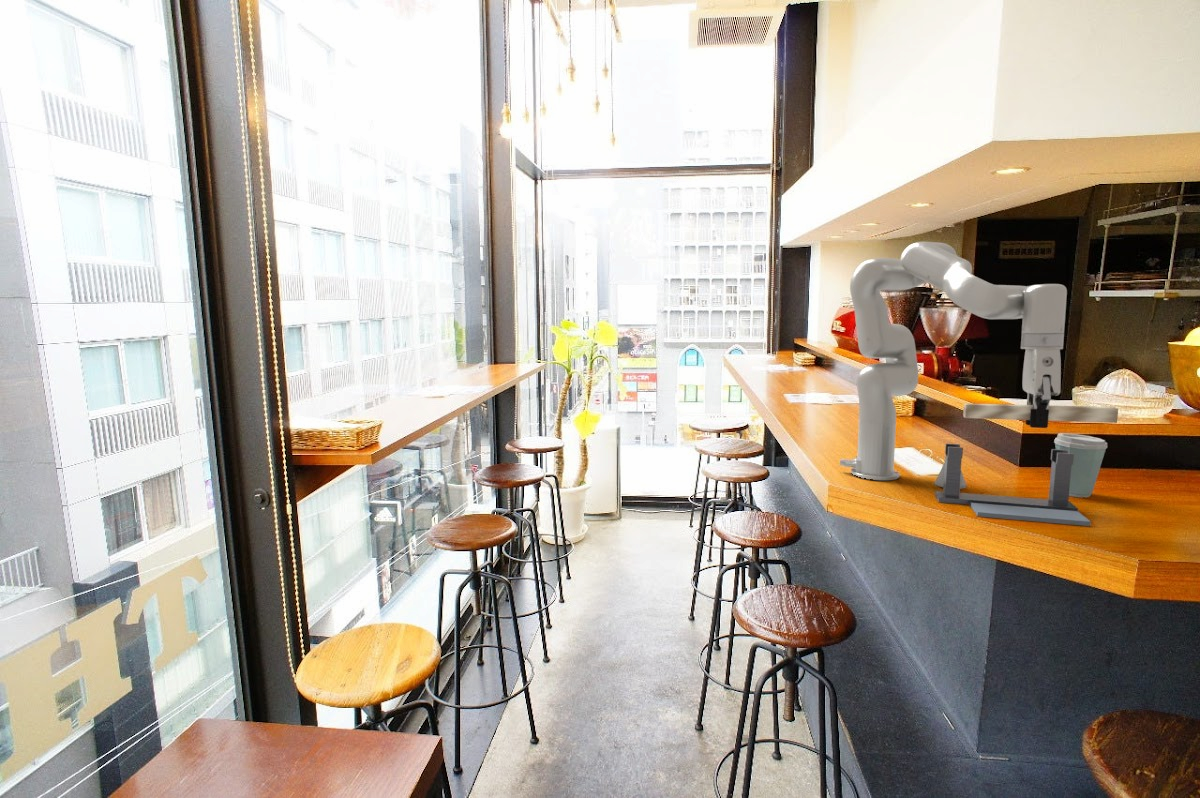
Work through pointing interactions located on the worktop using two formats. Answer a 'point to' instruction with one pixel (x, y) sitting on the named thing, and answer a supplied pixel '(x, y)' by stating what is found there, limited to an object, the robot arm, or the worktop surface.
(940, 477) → the flask
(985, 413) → the rail
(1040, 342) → the robot arm
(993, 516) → the mat
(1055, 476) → the grey holder stand
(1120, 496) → the worktop surface
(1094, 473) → the disposable coffee cup
